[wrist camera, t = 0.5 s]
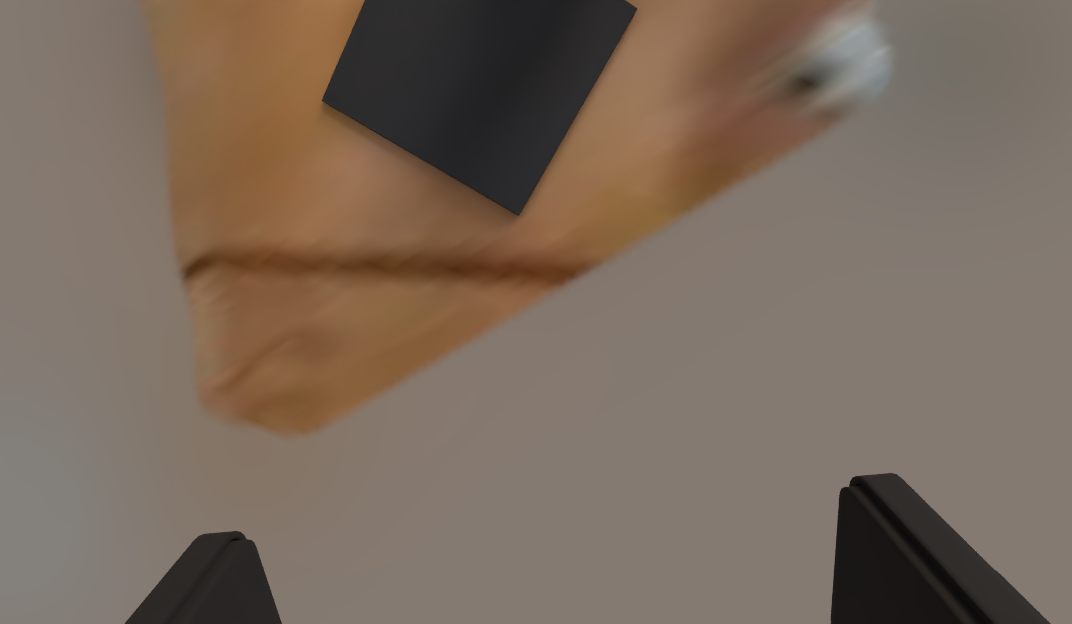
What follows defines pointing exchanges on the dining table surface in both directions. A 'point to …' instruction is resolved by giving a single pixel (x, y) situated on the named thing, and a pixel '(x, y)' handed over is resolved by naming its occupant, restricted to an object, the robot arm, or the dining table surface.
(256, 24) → the dining table surface
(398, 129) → the mat
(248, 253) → the dining table surface
